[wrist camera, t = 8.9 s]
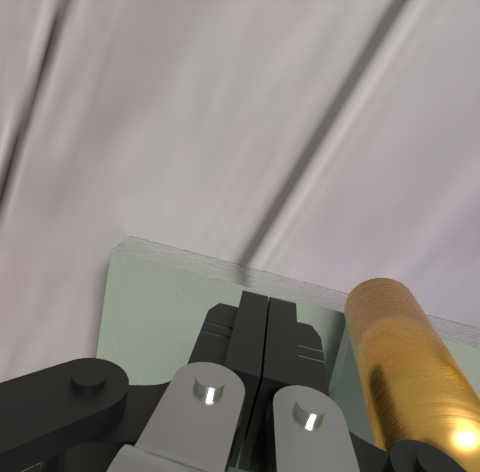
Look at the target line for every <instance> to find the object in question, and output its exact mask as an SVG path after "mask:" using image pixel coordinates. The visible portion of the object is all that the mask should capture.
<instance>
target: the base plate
mask: <svg viewBox="0 0 480 472" xmlns="http://www.w3.org/2000/svg"><path fill="white" fill-rule="evenodd" d="M243 290H245V291H249V292H253V293H257V294H261V295H265V296H268V300H269V297H273V298H277V299H282V300H286V301H290V302H294V303H296V309H297V322H300V323H304V324H308V325H312V326H313V328H314V329H315V330H316V332H317V333H318V334H319V336H320V337H321V341H322V348H323V351H322V352H323V355H324V363H325V368H326V375H327V382H328V389H329V385H330V381H331V378H332V374H333V370H334V366H335V362H336V359H337V355H338V351H339V347H340V344H341V340H342V336H343V332H344V329H345V325H346V320H345V315H344V306H345V302H346V299H347V297H348V295H349V294H346V293H343V292H339V291H335V290H331V289H328V288H324V287H320V286H316V285H313V284H309V283H305V282H301V281H297V280H294V279H290V278H286V277H282V276H279V275H275V274H271V273H267V272H264V271H260V270H256V269H252V268H249V267H245V266H241V265H237V264H234V263H230V262H226V261H222V260H219V259H215V258H211V257H207V256H204V255H200V254H196V253H192V252H189V251H185V250H181V249H177V248H173V247H170V246H166V245H162V244H158V243H155V242H151V241H147V240H143V239H140V238H136V237H132V236H130V237H129V238H127V239H126V240H125V241H123V242H122V243H120V244H119V245H118V246H116V247H115V248H113V249H112V250H111V254H110V261H109V268H108V275H107V282H106V290H105V297H104V304H103V311H102V318H101V325H100V332H99V340H98V347H97V354H96V358H99V359H104V360H108V361H111V362H113V363H115V364H117V365H118V366H120V367H121V368H122V369H123V370H124V371H125V372H126V374H127V376H128V378H129V385H157V384H162V383H166V382H169V381H171V380H172V378H173V377H174V375H175V373H176V372H177V371H178V370H179V369H180V368H182V367H183V366H185V365H187V363H188V361H189V358H190V356H191V353H192V351H193V348H194V345H195V343H196V340H197V338H198V335H199V333H200V330H201V328H202V325H203V323H204V320H205V317H206V315H207V312H208V310H209V309H211V308H212V307H214V306H215V305H217V304H218V303H223V304H227V305H231V306H235V307H239V303H240V299H241V295H242V291H243ZM426 316H427V317H428V319H429V321H430V322H431V324H432V325H433V327H434V328H435V330H436V331H437V333H438V335H439V336H440V338H441V339H442V341H443V342H444V344H445V345H446V347H447V349H448V350H449V352H450V353H451V355H452V356H453V358H454V359H455V361H456V363H457V364H458V366H459V367H460V369H461V370H462V372H463V373H464V375H465V377H466V378H467V380H468V381H469V383H470V384H471V386H472V387H473V389H474V391H475V392H476V394H477V395H478V397H479V398H480V329H478V328H474V327H470V326H467V325H463V324H459V323H455V322H452V321H448V320H444V319H440V318H437V317H433V316H429V315H426Z"/></svg>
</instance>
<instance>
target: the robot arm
mask: <svg viewBox="0 0 480 472" xmlns="http://www.w3.org/2000/svg"><path fill="white" fill-rule="evenodd" d="M322 351H323V348H322V341H321V337H320V336H319V334H318V333H317V332H316V330H315V329H314V328H313V326H312V325H308V324H304V323H300V322H297V309H296V303H294V302H290V301H286V300H282V299H277V298H273V297H269V300H268V296H265V295H261V294H257V293H253V292H249V291H245V290H243V291H242V295H241V299H240V303H239V307H235V306H231V305H227V304H223V303H218V304H217V305H215V306H214V307H212V308H211V309H209V310H208V312H207V315H206V317H205V320H204V323H203V325H202V328H201V330H200V333H199V335H198V338H197V340H196V343H195V345H194V348H193V351H192V353H191V356H190V358H189V361H188V363H187V365H185V366H183V367H182V368H180V369H179V370H178V371H177V372H176V373H175V375H174V377H173V378H172V380H171V381H169V382H166V383H162V384H157V385H129V378H128V376H127V374H126V372H125V371H124V370H123V369H122V368H121V367H120V366H118V365H117V364H115V363H113V362H111V361H108V360H104V359H99V358H82V359H76V360H72V361H69V362H65V363H62V364H59V365H56V366H53V367H49V368H46V369H43V370H40V371H37V372H34V373H30V374H27V375H24V376H21V377H18V378H14V379H11V380H8V381H5V382H2V383H0V472H21V471H23V470H25V469H27V468H30V467H32V466H34V465H36V464H38V463H40V464H38V465H36V466H34V467H32V468H30V469H28V470H26V471H24V472H228V470H229V467H233V468H235V467H236V464H237V460H238V456H239V453H240V457H239V464H238V469H241V470H245V471H249V472H467V471H466V470H465V469H464V468H463V467H461V466H460V465H459V464H458V463H457V462H456V461H455V460H453V459H452V458H451V457H450V456H448V455H447V454H445V453H444V452H442V451H441V450H439V449H437V448H436V447H434V446H431V445H429V444H427V443H424V442H421V441H416V440H401V441H398V442H397V443H395V444H394V445H393V446H392V448H391V451H390V453H388V452H386V451H384V450H382V449H380V448H378V447H376V446H374V445H372V444H370V443H368V442H366V441H364V440H363V439H361V438H359V437H358V436H356V435H355V434H353V433H352V432H351V431H349V430H348V427H347V424H346V420H345V417H344V414H343V412H342V411H341V409H340V408H339V406H338V405H337V404H336V403H335V402H334V401H333V400H332V399H331V398H330V395H329V389H328V382H327V375H326V368H325V363H324V355H323V352H322Z"/></svg>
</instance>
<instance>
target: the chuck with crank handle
mask: <svg viewBox="0 0 480 472" xmlns="http://www.w3.org/2000/svg"><path fill="white" fill-rule="evenodd" d="M344 315H345V320H346V325H345V329H344V332H343V336H342V340H341V344H340V347H339V351H338V355H337V359H336V362H335V366H334V370H333V374H332V378H331V381H330V385H329V395H330V398H331V399H332V400H333V401H334V402H335V403H336V404H337V405H338V406H339V408H340V409H341V411H342V412H343V414H344V417H345V420H346V424H347V427H348V430H349V431H351V432H352V433H353V434H355V435H356V436H358V437H359V438H361V439H363V440H364V441H366V442H368V443H370V444H372V445H374V446H376V447H378V448H380V449H382V450H384V451H386V452H388V453H390V451H391V448H392V446H393V445H394V444H395V443H397V442H398V441H401V440H416V441H421V442H424V443H427V444H429V445H431V446H434V447H436V448H437V449H439V450H441V451H442V452H444V453H445V454H447V455H448V456H450V457H451V458H452V459H453V460H455V461H456V462H457V463H458V464H459V465H460V466H461V467H463V468H464V469H465V470H466V471H467V472H480V398H479V397H478V395H477V394H476V392H475V391H474V389H473V387H472V386H471V384H470V383H469V381H468V380H467V378H466V377H465V375H464V373H463V372H462V370H461V369H460V367H459V366H458V364H457V363H456V361H455V359H454V358H453V356H452V355H451V353H450V352H449V350H448V349H447V347H446V345H445V344H444V342H443V341H442V339H441V338H440V336H439V335H438V333H437V331H436V330H435V328H434V327H433V325H432V324H431V322H430V321H429V319H428V317H427V316H426V314H425V313H424V311H423V310H422V308H421V307H420V305H419V303H418V302H417V300H416V299H415V297H414V296H413V294H412V293H411V291H410V290H409V289H408V288H407V287H406V286H404V285H403V284H402V283H400V282H398V281H395V280H392V279H388V278H375V279H370V280H367V281H365V282H363V283H361V284H359V285H358V286H356V287H355V288H354V289H353V290H352V291H351V292H350V294H349V295H348V297H347V299H346V302H345V306H344ZM239 457H240V453H239V456H238V460H237V464H236V467H235V468H233V467H229V470H228V472H249V471H245V470H241V469H238V464H239Z"/></svg>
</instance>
